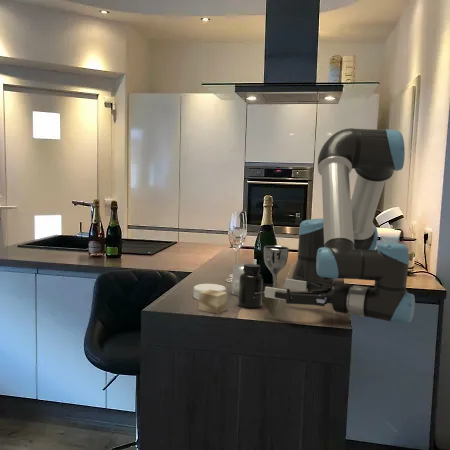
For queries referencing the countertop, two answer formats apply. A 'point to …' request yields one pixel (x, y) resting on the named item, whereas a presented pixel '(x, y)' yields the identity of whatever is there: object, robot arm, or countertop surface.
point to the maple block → (213, 301)
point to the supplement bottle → (250, 287)
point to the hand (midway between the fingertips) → (275, 287)
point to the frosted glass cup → (236, 278)
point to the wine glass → (275, 259)
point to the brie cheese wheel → (205, 287)
